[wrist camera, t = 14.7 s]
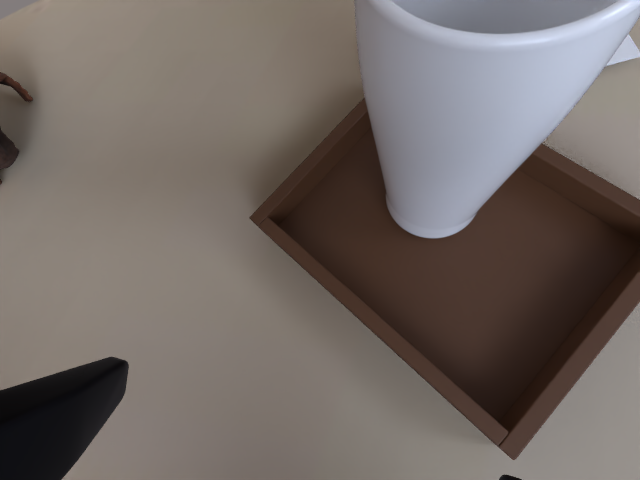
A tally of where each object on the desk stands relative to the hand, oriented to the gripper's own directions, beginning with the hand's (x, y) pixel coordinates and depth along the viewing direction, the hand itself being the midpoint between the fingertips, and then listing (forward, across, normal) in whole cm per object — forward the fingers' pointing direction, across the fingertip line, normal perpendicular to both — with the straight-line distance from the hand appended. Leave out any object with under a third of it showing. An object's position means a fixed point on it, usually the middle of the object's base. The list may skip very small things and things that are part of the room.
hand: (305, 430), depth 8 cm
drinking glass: (+15, -4, -5) cm, 17 cm away
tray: (+14, -5, -3) cm, 16 cm away
